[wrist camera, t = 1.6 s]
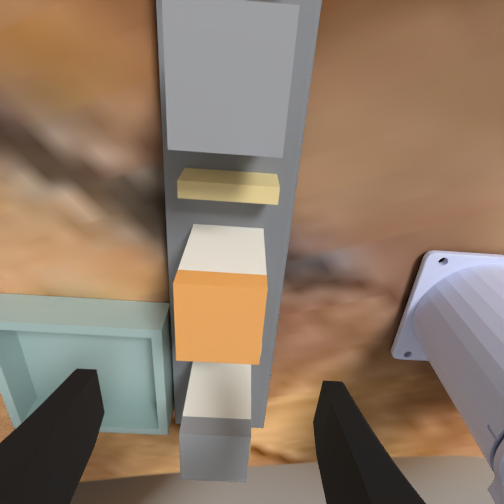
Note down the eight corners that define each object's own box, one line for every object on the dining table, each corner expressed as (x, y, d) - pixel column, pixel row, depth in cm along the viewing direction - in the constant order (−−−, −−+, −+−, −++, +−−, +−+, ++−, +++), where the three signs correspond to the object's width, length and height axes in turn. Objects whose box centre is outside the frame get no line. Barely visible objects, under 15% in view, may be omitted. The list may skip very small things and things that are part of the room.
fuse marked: (263, 228, 18) (267, 289, 14) (257, 292, 20) (259, 364, 16) (193, 223, 18) (173, 283, 14) (194, 288, 20) (176, 360, 15)
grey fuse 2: (251, 356, 23) (251, 436, 18) (246, 399, 25) (245, 482, 20) (194, 353, 23) (179, 433, 18) (194, 396, 25) (180, 479, 20)
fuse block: (326, -65, 14) (344, -94, 11) (262, 415, 27) (264, 454, 24) (158, -81, 13) (135, -114, 11) (177, 411, 27) (170, 450, 24)
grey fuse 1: (283, 22, 14) (299, 5, 9) (273, 127, 16) (282, 158, 11) (192, 15, 14) (161, -8, 9) (192, 121, 16) (167, 149, 11)
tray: (170, 302, 22) (161, 330, 20) (174, 403, 26) (167, 435, 24) (0, 293, 22) (-28, 320, 19) (34, 396, 26) (14, 428, 24)
